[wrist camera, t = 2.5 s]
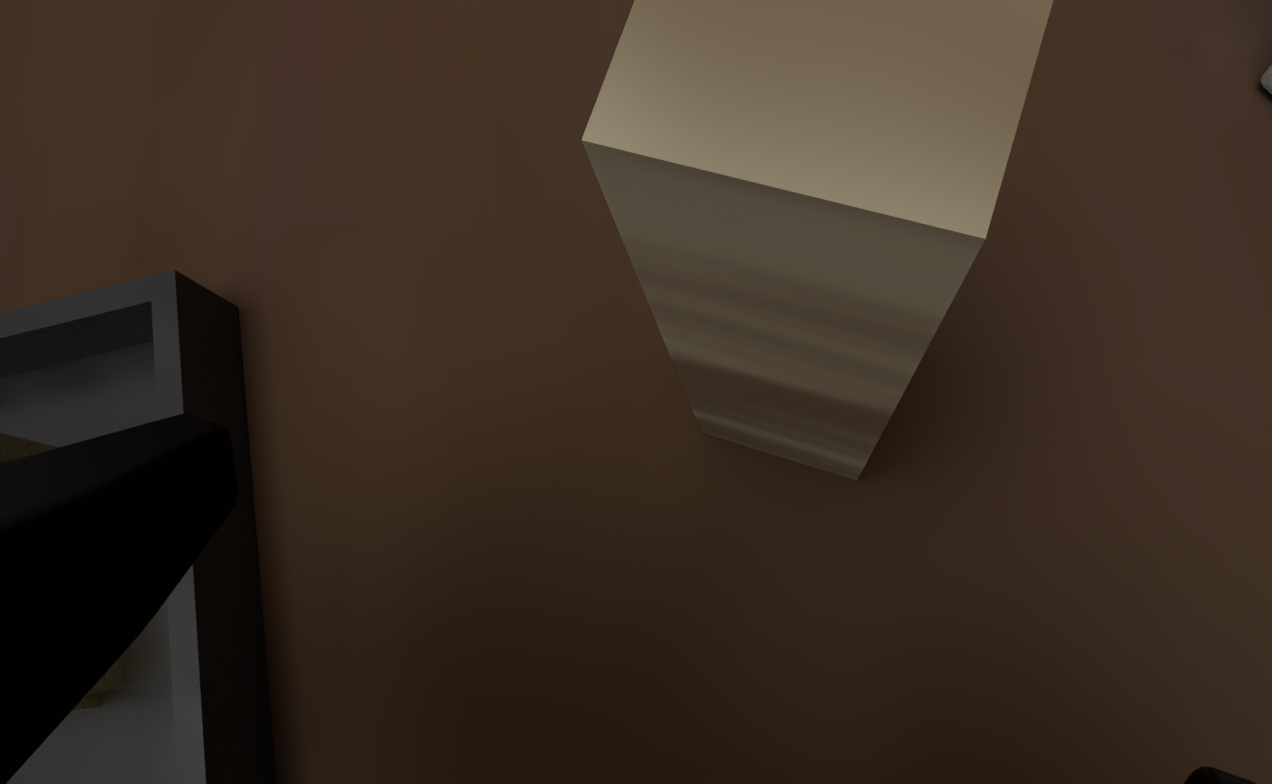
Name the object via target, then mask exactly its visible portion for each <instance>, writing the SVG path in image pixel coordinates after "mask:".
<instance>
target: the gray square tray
mask: <svg viewBox="0 0 1272 784" xmlns="http://www.w3.org/2000/svg"><path fill="white" fill-rule="evenodd" d="M183 413H192V414H197V415H200V416H203V417H206V418H208V419H211V420H214V421H217V422H220V423H222V424H223V425H225V426H226V427H227V428H228V430H229V431H230V433H231V437H232V442H233V449H234V456H235V462H236V469H237V476H238V482H239V493H238V498H237V501H236V504H235V506H234V508H233V510H232V511H231V513H230V514H229V516H228V517H227V518H226V520H225V521H224V523H223V524H222V525H221V527H220V528H219V529H218V531H217V532H216V533H215V535H214V536H213V537H212V539H211V540H210V542H209V543H208V544H207V546H206V547H205V548H204V550H203V551H202V552H201V554H200V555H199V556H198V558H197V559H196V560H195V562H194V563H193V565H192V566H191V567H190V569H189V570H188V571H187V573H186V574H185V575H184V577H183V578H182V579H181V581H180V582H179V584H178V585H177V586H176V588H175V589H174V590H173V592H172V593H171V594H170V596H169V597H168V598H167V600H166V601H165V603H164V604H163V605H162V607H161V608H160V609H159V611H158V612H157V613H156V615H155V616H154V617H153V618H152V620H151V621H150V622H149V623H148V625H147V626H146V627H145V629H144V630H143V631H142V632H141V634H140V635H139V636H138V637H137V638H136V639H135V641H134V642H133V643H132V644H131V645H130V646H129V648H128V649H127V650H126V651H125V652H124V653H123V655H122V656H121V657H120V658H119V659H118V660H117V661H116V662H115V663H114V665H113V666H112V667H111V668H110V669H109V670H108V671H107V672H106V673H105V675H104V676H103V677H102V678H101V679H100V680H99V681H98V682H97V683H96V685H95V686H94V687H93V688H92V689H91V690H90V691H89V692H88V693H87V695H86V696H85V697H84V698H83V699H82V700H81V701H80V702H79V703H78V705H77V706H76V707H75V708H74V709H73V710H72V711H71V712H70V713H69V715H68V716H67V717H66V718H65V719H64V720H63V721H62V722H61V723H60V725H59V726H58V727H57V728H56V729H55V730H54V731H53V732H52V733H51V734H50V736H49V737H48V738H47V739H46V740H45V741H44V742H43V743H42V744H41V746H40V747H39V748H38V749H37V750H36V751H35V752H34V753H33V754H32V756H31V757H30V758H29V759H28V760H27V761H26V762H25V763H24V764H23V766H22V767H21V768H20V769H19V770H18V771H17V772H16V773H15V774H14V776H13V777H12V778H11V779H10V780H9V781H8V782H7V783H6V784H275V772H274V759H273V747H272V734H271V722H270V709H269V697H268V684H267V671H266V659H265V646H264V634H263V621H262V609H261V596H260V584H259V571H258V558H257V546H256V533H255V521H254V508H253V496H252V483H251V470H250V458H249V445H248V433H247V420H246V408H245V395H244V383H243V370H242V357H241V345H240V332H239V320H238V307H237V306H235V305H234V304H232V303H230V302H228V301H227V300H225V299H223V298H222V297H220V296H218V295H217V294H215V293H213V292H211V291H210V290H208V289H206V288H205V287H203V286H201V285H199V284H198V283H196V282H194V281H193V280H191V279H189V278H187V277H186V276H184V275H182V274H181V273H179V272H177V271H176V270H173V271H169V272H165V273H161V274H157V275H153V276H149V277H145V278H141V279H137V280H133V281H129V282H125V283H121V284H117V285H113V286H109V287H105V288H101V289H97V290H93V291H89V292H85V293H81V294H77V295H73V296H69V297H65V298H61V299H57V300H53V301H49V302H45V303H41V304H37V305H33V306H29V307H25V308H21V309H17V310H13V311H9V312H5V313H1V314H0V464H1V463H4V462H8V461H12V460H15V459H19V458H23V457H26V456H30V455H34V454H37V453H41V452H44V451H48V450H52V449H55V448H59V447H63V446H66V445H70V444H73V443H77V442H81V441H84V440H88V439H92V438H95V437H99V436H102V435H106V434H110V433H113V432H117V431H121V430H124V429H128V428H132V427H135V426H139V425H142V424H146V423H150V422H153V421H157V420H161V419H164V418H168V417H171V416H175V415H179V414H183Z"/></svg>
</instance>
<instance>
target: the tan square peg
mask: <svg viewBox="0 0 1272 784" xmlns="http://www.w3.org/2000/svg"><path fill="white" fill-rule="evenodd" d="M1052 3H1053V0H635V1H634V4H633V6H632V9H631V11H630V14H629V17H628V19H627V22H626V25H625V27H624V30H623V33H622V35H621V38H620V40H619V43H618V46H617V48H616V51H615V54H614V56H613V59H612V61H611V64H610V67H609V69H608V72H607V75H606V77H605V80H604V82H603V85H602V88H601V90H600V93H599V96H598V98H597V101H596V103H595V106H594V109H593V111H592V114H591V117H590V119H589V122H588V124H587V127H586V130H585V132H584V135H583V138H582V142H583V145H584V147H585V150H586V152H587V155H588V157H589V160H590V162H591V164H592V167H593V169H594V172H595V174H596V177H597V179H598V182H599V184H600V186H601V189H602V191H603V194H604V196H605V199H606V201H607V203H608V206H609V208H610V211H611V213H612V216H613V218H614V221H615V223H616V225H617V228H618V230H619V233H620V235H621V238H622V240H623V242H624V245H625V247H626V250H627V252H628V255H629V257H630V260H631V262H632V264H633V267H634V269H635V272H636V274H637V277H638V279H639V282H640V284H641V286H642V289H643V291H644V294H645V296H646V299H647V301H648V303H649V306H650V308H651V311H652V313H653V316H654V318H655V321H656V323H657V325H658V328H659V330H660V333H661V335H662V338H663V340H664V342H665V345H666V347H667V350H668V352H669V355H670V357H671V360H672V362H673V364H674V367H675V369H676V372H677V374H678V377H679V379H680V382H681V384H682V386H683V389H684V391H685V394H686V396H687V399H688V401H689V403H690V406H691V408H692V411H693V413H694V416H695V418H696V421H697V423H698V425H699V428H700V430H701V433H704V434H707V435H710V436H714V437H717V438H720V439H723V440H727V441H730V442H733V443H736V444H740V445H743V446H746V447H749V448H753V449H756V450H759V451H762V452H765V453H769V454H772V455H775V456H778V457H782V458H785V459H788V460H791V461H795V462H798V463H801V464H804V465H808V466H811V467H814V468H817V469H821V470H824V471H827V472H830V473H834V474H837V475H840V476H843V477H846V478H850V479H853V480H856V481H857V480H858V478H859V476H860V474H861V472H862V470H863V469H864V467H865V465H866V463H867V461H868V459H869V457H870V455H871V453H872V452H873V450H874V448H875V446H876V444H877V442H878V440H879V438H880V436H881V435H882V433H883V431H884V429H885V427H886V425H887V423H888V421H889V420H890V418H891V416H892V414H893V412H894V410H895V408H896V406H897V404H898V403H899V401H900V399H901V397H902V395H903V393H904V391H905V389H906V388H907V386H908V384H909V382H910V380H911V378H912V376H913V374H914V372H915V371H916V369H917V367H918V365H919V363H920V361H921V359H922V357H923V355H924V354H925V352H926V350H927V348H928V346H929V344H930V342H931V340H932V339H933V337H934V335H935V333H936V331H937V329H938V327H939V325H940V323H941V322H942V320H943V318H944V316H945V314H946V312H947V310H948V308H949V307H950V305H951V303H952V301H953V299H954V297H955V295H956V293H957V291H958V290H959V288H960V286H961V284H962V282H963V280H964V278H965V276H966V274H967V273H968V271H969V269H970V267H971V265H972V263H973V261H974V259H975V258H976V256H977V254H978V252H979V250H980V248H981V246H982V244H983V242H984V241H985V239H986V235H987V231H988V228H989V224H990V221H991V217H992V214H993V210H994V207H995V203H996V200H997V196H998V193H999V189H1000V186H1001V182H1002V179H1003V175H1004V172H1005V168H1006V165H1007V161H1008V158H1009V154H1010V151H1011V147H1012V144H1013V140H1014V137H1015V133H1016V130H1017V126H1018V123H1019V119H1020V116H1021V112H1022V108H1023V105H1024V101H1025V98H1026V94H1027V91H1028V87H1029V84H1030V80H1031V77H1032V73H1033V70H1034V66H1035V63H1036V59H1037V56H1038V52H1039V49H1040V45H1041V42H1042V38H1043V35H1044V31H1045V28H1046V24H1047V21H1048V17H1049V14H1050V10H1051V7H1052Z"/></svg>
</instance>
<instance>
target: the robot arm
mask: <svg viewBox="0 0 1272 784" xmlns="http://www.w3.org/2000/svg"><path fill="white" fill-rule="evenodd" d="M238 493H239V482H238V476H237V469H236V462H235V456H234V449H233V442H232V437H231V433H230V431H229V430H228V428H227V427H226V426H225V425H223V424H222V423H220V422H217V421H214V420H211V419H208V418H206V417H203V416H200V415H197V414H192V413H183V414H179V415H175V416H171V417H168V418H164V419H161V420H157V421H153V422H150V423H146V424H142V425H139V426H135V427H132V428H128V429H124V430H121V431H117V432H113V433H110V434H106V435H102V436H99V437H95V438H92V439H88V440H84V441H81V442H77V443H73V444H70V445H66V446H63V447H59V448H55V449H52V450H48V451H44V452H41V453H37V454H34V455H30V456H26V457H23V458H19V459H15V460H12V461H8V462H4V463H1V464H0V784H6V783H7V782H8V781H9V780H10V779H11V778H12V777H13V776H14V774H15V773H16V772H17V771H18V770H19V769H20V768H21V767H22V766H23V764H24V763H25V762H26V761H27V760H28V759H29V758H30V757H31V756H32V754H33V753H34V752H35V751H36V750H37V749H38V748H39V747H40V746H41V744H42V743H43V742H44V741H45V740H46V739H47V738H48V737H49V736H50V734H51V733H52V732H53V731H54V730H55V729H56V728H57V727H58V726H59V725H60V723H61V722H62V721H63V720H64V719H65V718H66V717H67V716H68V715H69V713H70V712H71V711H72V710H73V709H74V708H75V707H76V706H77V705H78V703H79V702H80V701H81V700H82V699H83V698H84V697H85V696H86V695H87V693H88V692H89V691H90V690H91V689H92V688H93V687H94V686H95V685H96V683H97V682H98V681H99V680H100V679H101V678H102V677H103V676H104V675H105V673H106V672H107V671H108V670H109V669H110V668H111V667H112V666H113V665H114V663H115V662H116V661H117V660H118V659H119V658H120V657H121V656H122V655H123V653H124V652H125V651H126V650H127V649H128V648H129V646H130V645H131V644H132V643H133V642H134V641H135V639H136V638H137V637H138V636H139V635H140V634H141V632H142V631H143V630H144V629H145V627H146V626H147V625H148V623H149V622H150V621H151V620H152V618H153V617H154V616H155V615H156V613H157V612H158V611H159V609H160V608H161V607H162V605H163V604H164V603H165V601H166V600H167V598H168V597H169V596H170V594H171V593H172V592H173V590H174V589H175V588H176V586H177V585H178V584H179V582H180V581H181V579H182V578H183V577H184V575H185V574H186V573H187V571H188V570H189V569H190V567H191V566H192V565H193V563H194V562H195V560H196V559H197V558H198V556H199V555H200V554H201V552H202V551H203V550H204V548H205V547H206V546H207V544H208V543H209V542H210V540H211V539H212V537H213V536H214V535H215V533H216V532H217V531H218V529H219V528H220V527H221V525H222V524H223V523H224V521H225V520H226V518H227V517H228V516H229V514H230V513H231V511H232V510H233V508H234V506H235V504H236V501H237V498H238ZM1183 784H1256V783H1254V782H1252V781H1250V780H1247V779H1244V778H1241V777H1238V776H1235V775H1232V774H1229V773H1227V772H1224V771H1221V770H1218V769H1215V768H1212V767H1205V766H1204V767H1200V768H1198V769H1196V770H1194V771H1193V772H1192V773H1191V774H1190V775H1189V777H1188V778H1187V779H1186V781H1185V782H1184V783H1183Z"/></svg>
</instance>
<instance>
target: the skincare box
mask: <svg viewBox="0 0 1272 784" xmlns="http://www.w3.org/2000/svg"><path fill="white" fill-rule="evenodd" d="M1261 84H1262V86H1263V87H1264V88H1265V89H1266V90H1267V91H1268V92H1269V93H1270V94H1272V64H1271V66H1270V67H1269V68H1268V69H1267V71H1266V72H1265V73H1264V74H1263V76H1262V77H1261Z"/></svg>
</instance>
